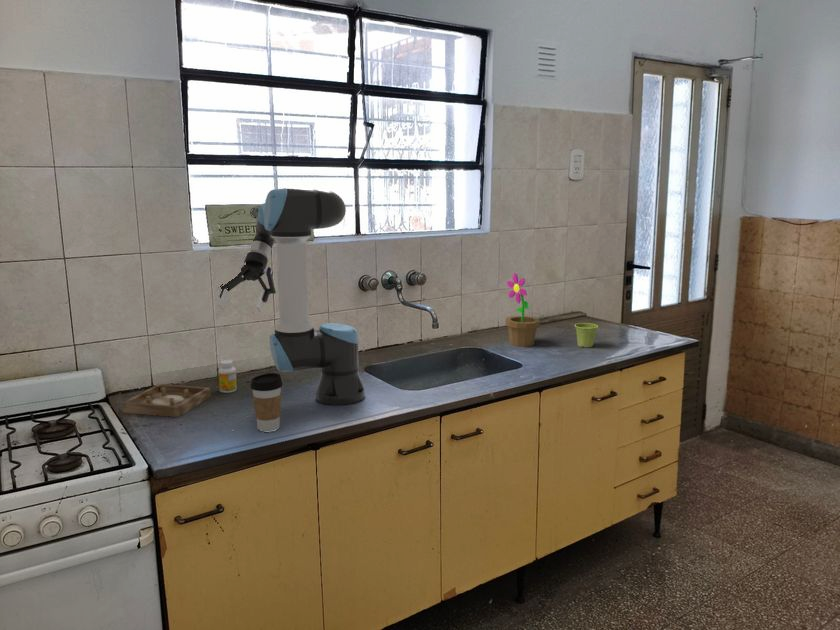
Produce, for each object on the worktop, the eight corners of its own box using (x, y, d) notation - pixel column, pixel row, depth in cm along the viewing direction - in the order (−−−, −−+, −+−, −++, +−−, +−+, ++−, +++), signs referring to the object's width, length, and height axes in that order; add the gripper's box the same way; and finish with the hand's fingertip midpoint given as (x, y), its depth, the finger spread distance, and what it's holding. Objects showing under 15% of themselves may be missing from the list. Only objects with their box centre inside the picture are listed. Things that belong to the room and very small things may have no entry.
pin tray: (159, 392, 207) (158, 382, 206) (210, 396, 203) (209, 385, 203) (123, 412, 190) (121, 400, 189) (178, 417, 186) (177, 405, 185)
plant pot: (580, 349, 260) (581, 328, 258) (569, 343, 269) (570, 323, 267) (601, 348, 262) (602, 327, 260) (589, 342, 271) (591, 322, 269)
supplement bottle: (216, 390, 209) (214, 361, 207) (230, 386, 213) (229, 358, 211) (225, 394, 206) (223, 365, 204) (240, 390, 210) (238, 361, 208)
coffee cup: (289, 430, 177) (287, 377, 174) (259, 437, 172) (257, 383, 169) (277, 420, 184) (274, 370, 181) (248, 427, 179) (245, 375, 176)
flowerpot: (497, 342, 271) (499, 271, 264) (523, 337, 278) (525, 268, 272) (520, 349, 259) (523, 276, 253) (546, 345, 267) (549, 273, 260)
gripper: (294, 265, 226) (278, 316, 215) (228, 262, 230) (210, 312, 220) (287, 252, 219) (271, 304, 208) (220, 249, 224) (200, 300, 213)
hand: (239, 308), depth 214 cm, fingers open, 13 cm apart
